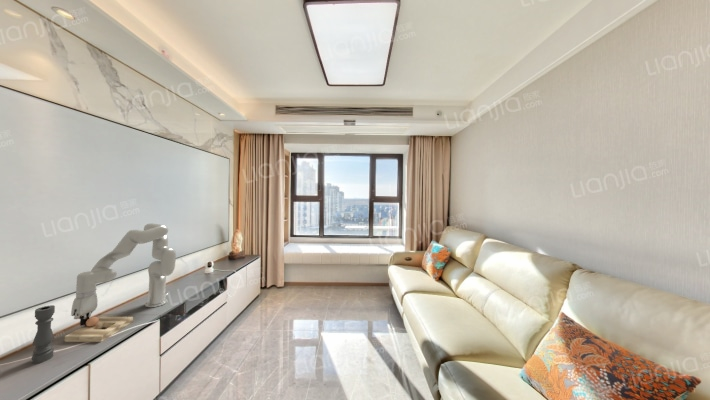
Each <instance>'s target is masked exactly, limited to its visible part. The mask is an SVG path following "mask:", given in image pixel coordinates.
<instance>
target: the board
mask: <svg viewBox="0 0 710 400" xmlns="http://www.w3.org/2000/svg"><path fill="white" fill-rule="evenodd" d="M98 318H99V322H98V323H97V324H96V325H94V326H87V325H82V326H81V327H80V328H78V329H76V330H74V331H72V332H70V333H68V334H66V335H64V343H66V342H67V343H73V342H74V343H77V342H78V343H79V342H80V343H81V342H83V343H92V342H93V343H101V342H103V341H105V340H107V339H108V338H110V337H111V336H113V335H114V334H116V333H117V332H119V331H120V330H122V329H123V328H126V327H127V326H128V325H130V324H131V323H133V322H134V317H133V316H100V317H98ZM103 328H105V329H103Z"/></svg>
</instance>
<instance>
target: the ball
mask: <svg viewBox="0 0 710 400" xmlns="http://www.w3.org/2000/svg"><path fill="white" fill-rule="evenodd" d="M99 318H100V317H97V316H92V317H91V316H90V317H89V319H88V320H87V321H86V325H87V326H94V325H96V324H97V323H98V322H99Z"/></svg>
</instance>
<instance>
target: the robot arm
mask: <svg viewBox="0 0 710 400" xmlns="http://www.w3.org/2000/svg"><path fill="white" fill-rule="evenodd" d="M168 232H169V229H168V227H167V226H166V225H163V224H158V223H147V224H146V225H144V227H143V230H139V229H131V230H129V231H127V232H126V233H125V235H123V237H122V238H121V240H120V241H119V243H118V244H117V245H116V246H115V247H114V248H113V249H112V250H111V251H109V252H108V253H107V254H105V255H104V256H103V257H101V258H100V259H99V260H98V261H97V263H96V264H95V265H94V266H93V267H92V269H91V270H90V271H83V272H80V273H78V274H77V276H76V286H75V289H76V290H75V293H76V294H75V298H74V299H73V302H72V306H71V311H70V312H71V313H70V316H72V317H73V320H80V321H79V324H80V326H85V325H86V321H87V320H88V319H89V318H91V316H92V313H94V312H95V311H96V310H97V308H98V294H97V284H100V283H107V282H111V281H113V280H114V279H115V278H116V277H117V271H116V270H114V269H112V268H110V267H112V265H113V264H114V263H115V262H117V261H119V260H120V259H123V258H127V257H128V256H131V254H132V252H134V250H135V248H136V247H137V245H138V244H139V245H142V244H147V243H150V242H152V249H151V256H152V258H153V259H155V260H154V261H152V262H151V263H149V265H148V269H147V270H148V271H147V272H148V282H149V283H148V294H147V295H148V296H147V297H148V298H147V301H146V302H145V303H144V307H145V308H146V307H147V308H157V307H161V306H163V305H166V304H167V303H168V300H169V299H167V298H166V297H167V296H169V293H168V292H167V293H166V287H167V286H166V285H167V277H169V276H171V275H172V274H173V273H174V271H175V269H176V268H175V267H176V259H177V253H176V251H175V249H174V248H172V247H169V246H168V245H169V239H168Z"/></svg>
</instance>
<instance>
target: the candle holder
mask: <svg viewBox="0 0 710 400" xmlns="http://www.w3.org/2000/svg"><path fill="white" fill-rule="evenodd" d="M55 309H56V306H55V305H44V306H41V307H37V308H35V310H34V318H35V320H37V321H35V325H37V328H36V329H37V332H36V333H35V336H34V338H33V342H32V345H33V346H34V347H35V350H33V353H32V355H31V364H35V365H36V364H40V363H45V362H47V361H49V360H51V359H52V358H53V357H54V353H55V352H54V346H53V345H52V342H53V341H54V339H55V336H54V332H53V330H52V322H53V321H54V318H53V315H54V313H55V311H56V310H55Z"/></svg>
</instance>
